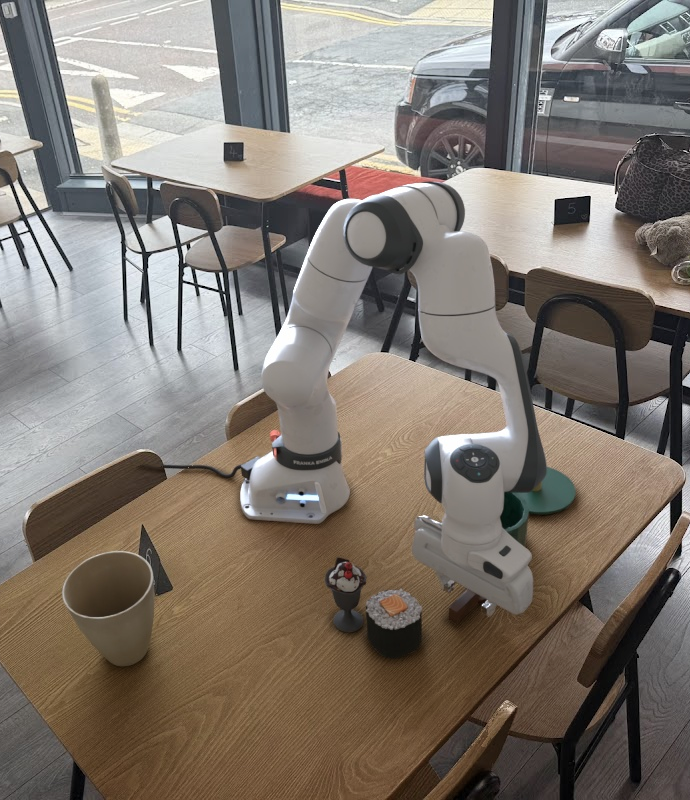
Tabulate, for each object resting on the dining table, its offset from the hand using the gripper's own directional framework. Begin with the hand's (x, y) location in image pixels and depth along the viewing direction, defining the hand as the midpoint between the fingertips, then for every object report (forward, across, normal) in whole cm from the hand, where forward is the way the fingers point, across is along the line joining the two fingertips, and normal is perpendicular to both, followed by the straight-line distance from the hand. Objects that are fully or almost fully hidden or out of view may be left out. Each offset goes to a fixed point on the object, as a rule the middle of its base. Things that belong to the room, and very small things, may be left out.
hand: (467, 600), depth 131 cm
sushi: (+2, -5, -13) cm, 14 cm away
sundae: (+2, -13, -15) cm, 20 cm away
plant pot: (+2, -37, -45) cm, 58 cm away
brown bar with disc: (+2, 0, 0) cm, 2 cm away
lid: (+1, -7, +33) cm, 34 cm away
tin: (+2, -6, +15) cm, 17 cm away
